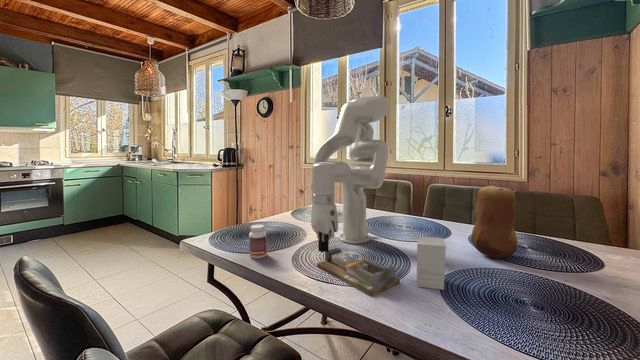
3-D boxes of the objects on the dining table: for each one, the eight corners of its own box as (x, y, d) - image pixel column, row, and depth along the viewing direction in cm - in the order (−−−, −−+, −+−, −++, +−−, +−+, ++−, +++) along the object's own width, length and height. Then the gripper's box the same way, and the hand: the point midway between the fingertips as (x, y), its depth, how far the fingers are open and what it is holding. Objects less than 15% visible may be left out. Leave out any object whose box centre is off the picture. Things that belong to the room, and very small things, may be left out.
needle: (363, 269, 91) (363, 258, 91) (368, 272, 90) (368, 260, 89) (344, 276, 87) (344, 264, 86) (349, 279, 85) (349, 267, 85)
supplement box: (442, 279, 88) (444, 237, 86) (444, 290, 81) (446, 246, 80) (416, 275, 90) (417, 235, 89) (415, 286, 83) (417, 243, 82)
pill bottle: (269, 256, 107) (268, 226, 106) (253, 260, 103) (252, 229, 102) (263, 251, 112) (262, 222, 111) (247, 254, 109) (245, 225, 107)
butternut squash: (512, 252, 108) (517, 184, 105) (519, 266, 96) (525, 190, 93) (469, 247, 114) (473, 182, 111) (471, 260, 102) (475, 187, 99)
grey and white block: (337, 256, 102) (337, 247, 102) (364, 268, 92) (364, 259, 92) (325, 259, 99) (325, 251, 99) (351, 273, 89) (351, 263, 89)
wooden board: (344, 258, 105) (344, 243, 104) (399, 283, 86) (400, 265, 85) (317, 266, 98) (316, 251, 97) (370, 296, 78) (370, 277, 78)
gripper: (346, 201, 98) (346, 254, 100) (319, 195, 110) (319, 243, 112) (328, 203, 93) (328, 259, 95) (302, 197, 105) (302, 247, 107)
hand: (323, 250), depth 104 cm, fingers closed
